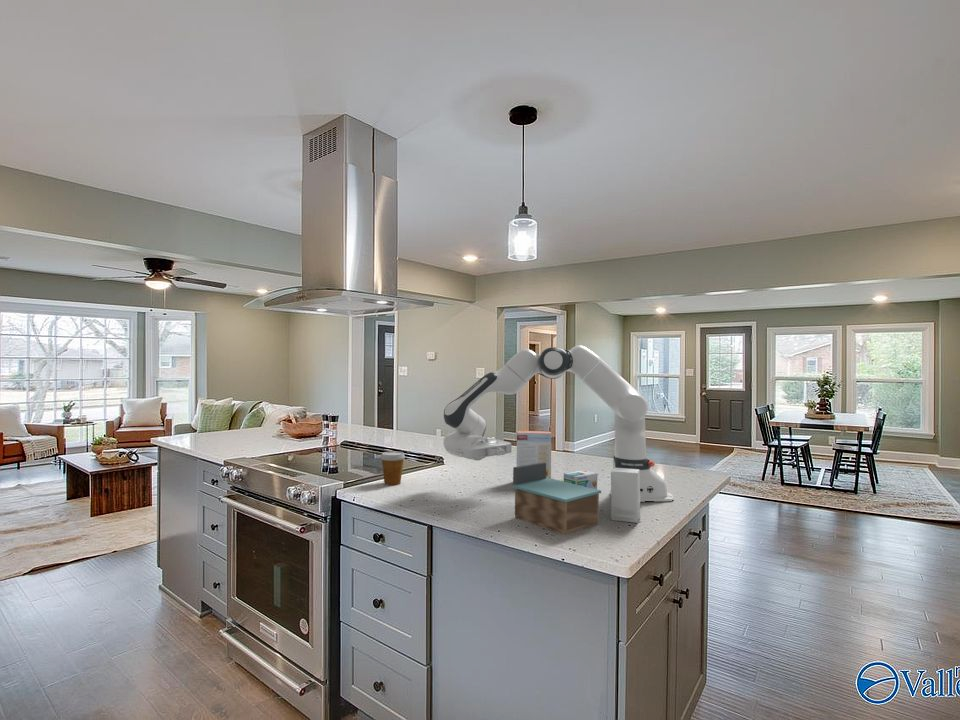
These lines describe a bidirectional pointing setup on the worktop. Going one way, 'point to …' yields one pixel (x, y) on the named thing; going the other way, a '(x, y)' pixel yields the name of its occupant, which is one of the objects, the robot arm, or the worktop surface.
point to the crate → (557, 511)
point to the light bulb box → (582, 478)
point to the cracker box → (534, 449)
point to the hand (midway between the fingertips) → (501, 452)
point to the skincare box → (625, 494)
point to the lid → (548, 484)
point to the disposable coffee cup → (392, 467)
